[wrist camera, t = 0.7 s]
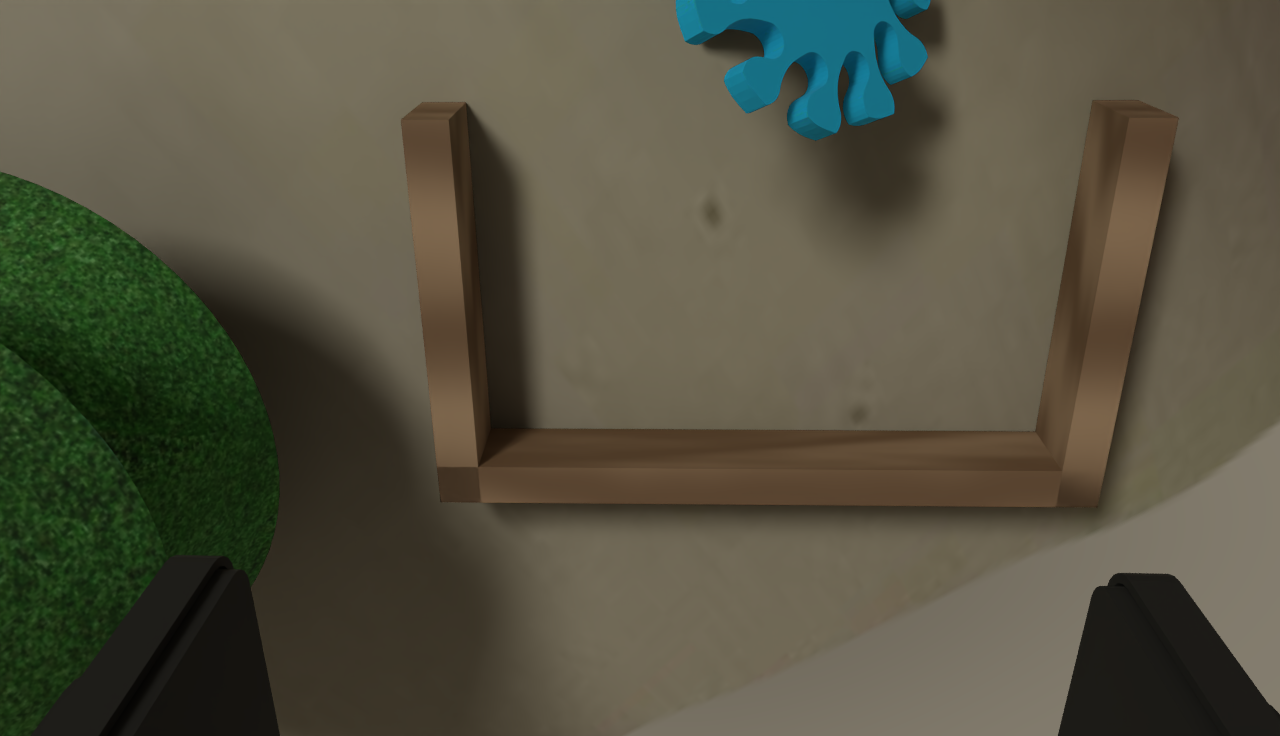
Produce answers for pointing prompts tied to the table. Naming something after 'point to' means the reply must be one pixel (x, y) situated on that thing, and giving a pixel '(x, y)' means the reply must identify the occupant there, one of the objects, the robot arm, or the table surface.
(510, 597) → the table surface
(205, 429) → the decorative tree
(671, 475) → the frame
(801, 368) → the table surface
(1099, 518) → the table surface
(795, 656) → the table surface
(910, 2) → the gear
